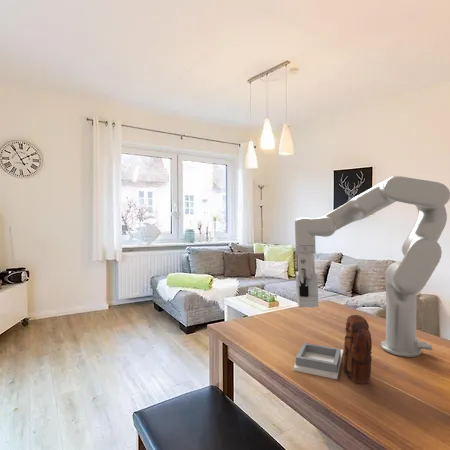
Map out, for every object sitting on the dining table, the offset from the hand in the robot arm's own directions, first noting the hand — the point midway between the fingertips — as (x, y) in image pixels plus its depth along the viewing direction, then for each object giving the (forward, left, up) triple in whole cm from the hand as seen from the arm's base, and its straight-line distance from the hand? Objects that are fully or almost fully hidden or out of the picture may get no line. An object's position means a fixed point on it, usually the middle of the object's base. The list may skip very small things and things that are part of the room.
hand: (306, 293), depth 122 cm
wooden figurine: (-19, +21, -18) cm, 34 cm away
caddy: (-7, +16, -18) cm, 25 cm away
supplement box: (0, 0, -5) cm, 5 cm away
